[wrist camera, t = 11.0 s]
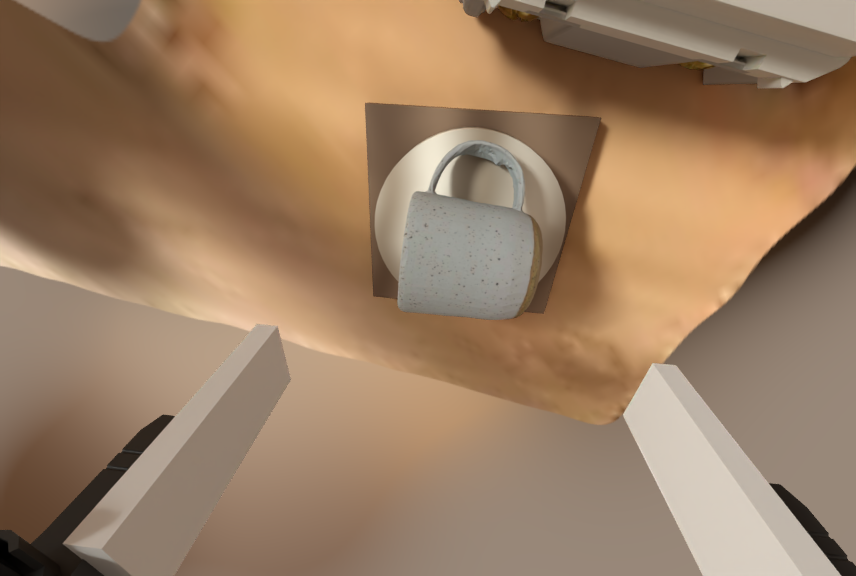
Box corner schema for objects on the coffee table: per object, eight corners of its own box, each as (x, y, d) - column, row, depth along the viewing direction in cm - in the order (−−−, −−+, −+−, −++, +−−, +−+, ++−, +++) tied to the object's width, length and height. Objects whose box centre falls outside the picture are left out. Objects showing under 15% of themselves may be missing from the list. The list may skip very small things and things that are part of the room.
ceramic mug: (509, 288, 26) (524, 352, 19) (408, 275, 26) (389, 333, 20) (546, 146, 20) (585, 166, 14) (419, 131, 21) (398, 144, 14)
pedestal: (376, 289, 32) (366, 310, 29) (369, 102, 23) (354, 103, 20) (541, 306, 31) (549, 329, 28) (595, 116, 22) (615, 120, 19)
